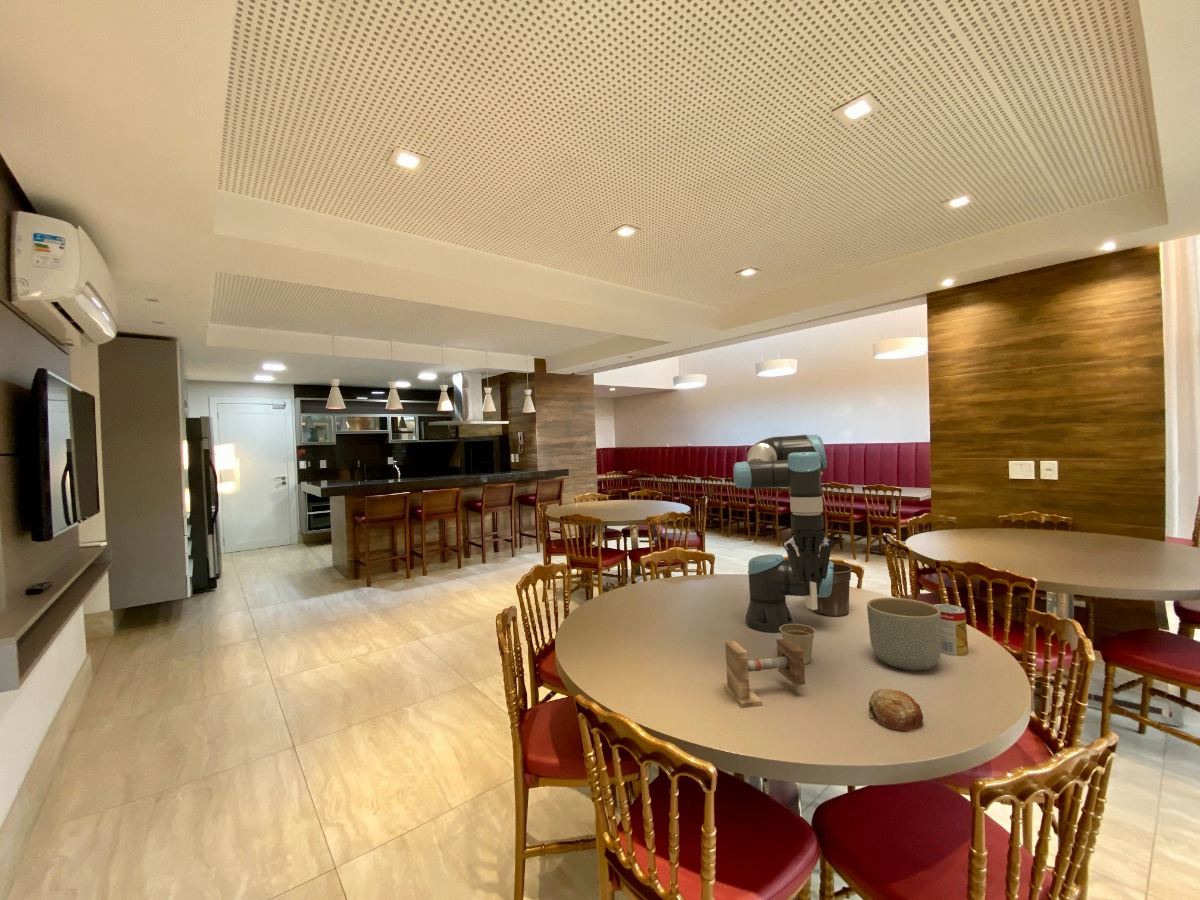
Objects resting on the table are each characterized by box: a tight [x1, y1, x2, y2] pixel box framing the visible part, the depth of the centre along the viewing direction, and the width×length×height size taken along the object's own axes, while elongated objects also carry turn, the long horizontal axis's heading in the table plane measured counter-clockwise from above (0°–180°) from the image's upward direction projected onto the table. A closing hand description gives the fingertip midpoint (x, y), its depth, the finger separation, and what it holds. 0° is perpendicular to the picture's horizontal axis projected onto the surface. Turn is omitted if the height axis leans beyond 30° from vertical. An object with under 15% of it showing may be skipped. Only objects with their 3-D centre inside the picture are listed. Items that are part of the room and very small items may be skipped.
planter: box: [866, 597, 942, 672], centre depth 130 cm, size 17×17×15 cm
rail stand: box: [723, 640, 806, 709], centre depth 118 cm, size 19×10×12 cm, turn 99°
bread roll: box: [868, 688, 924, 732], centre depth 104 cm, size 10×10×8 cm
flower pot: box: [779, 623, 816, 665], centre depth 135 cm, size 9×9×9 cm
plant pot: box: [812, 562, 853, 617], centre depth 174 cm, size 16×16×16 cm
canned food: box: [933, 603, 969, 657], centre depth 137 cm, size 8×8×12 cm
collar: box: [776, 638, 806, 687], centre depth 118 cm, size 2×8×8 cm, turn 9°
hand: (811, 607), depth 119 cm, fingers closed
